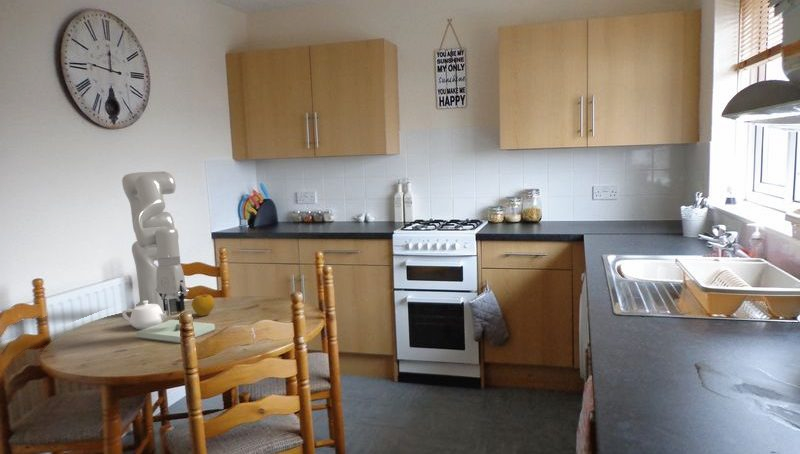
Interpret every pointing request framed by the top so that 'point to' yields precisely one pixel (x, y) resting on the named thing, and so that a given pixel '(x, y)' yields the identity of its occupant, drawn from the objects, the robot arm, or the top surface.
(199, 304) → the apple
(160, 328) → the pocket board
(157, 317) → the teapot
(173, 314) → the pill bottle
